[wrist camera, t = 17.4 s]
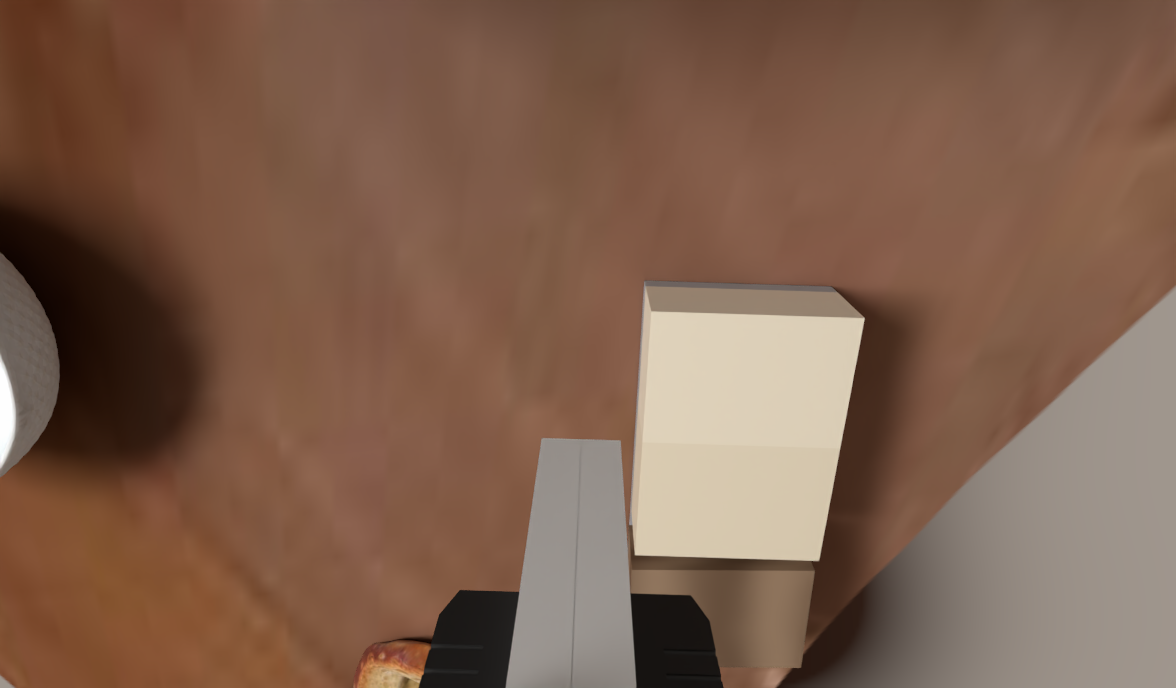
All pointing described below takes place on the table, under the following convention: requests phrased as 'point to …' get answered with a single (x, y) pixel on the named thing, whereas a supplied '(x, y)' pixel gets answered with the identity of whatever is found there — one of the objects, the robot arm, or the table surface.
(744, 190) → the table surface
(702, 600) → the tan brown block
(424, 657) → the bread slice
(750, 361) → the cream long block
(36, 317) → the cereal bowl
